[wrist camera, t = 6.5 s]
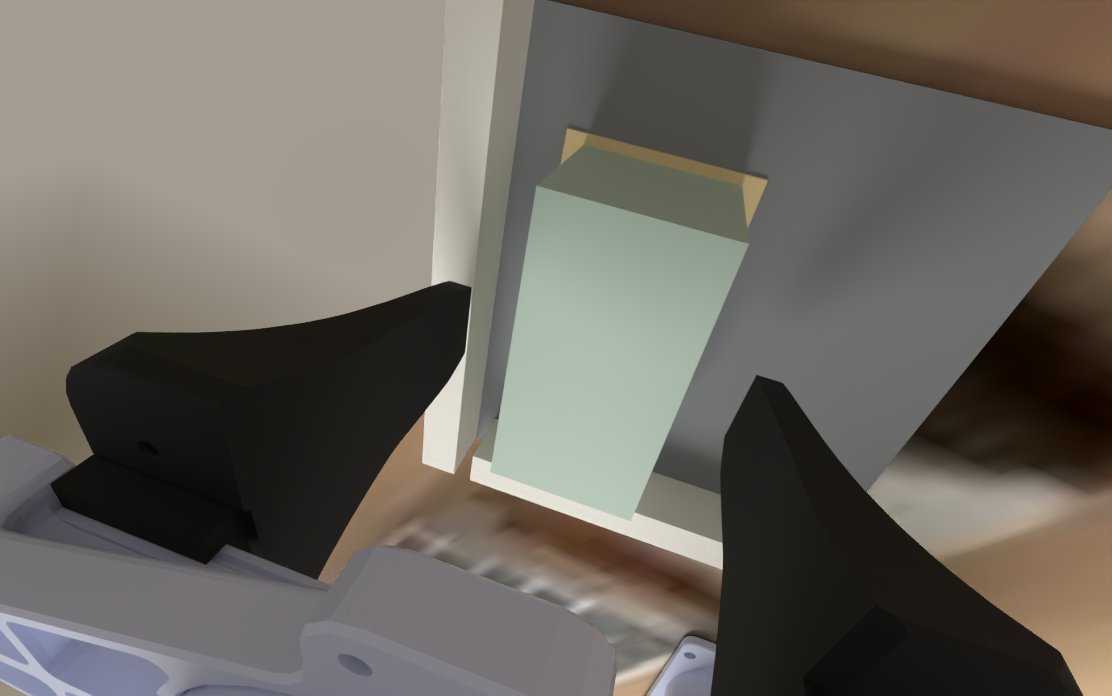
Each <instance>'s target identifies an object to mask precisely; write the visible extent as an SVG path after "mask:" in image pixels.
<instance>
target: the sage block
mask: <svg viewBox="0 0 1112 696" xmlns="http://www.w3.org/2000/svg"><path fill="white" fill-rule="evenodd" d="M748 245H749V239H748V231H747V222H746V214H745V205H744V196H743V188H742V186H740V185H736V184H733V183H729V182H725V181H721V180H717V179H714V178H710V177H706V176H702V175H698V174H694V173H691V172H687V171H683V170H679V169H675V168H671V167H668V166H664V165H660V164H656V163H652V162H649V161H645V160H641V159H637V158H633V157H629V156H626V155H622V154H618V153H614V152H610V151H606V150H603V149H599V148H595V147H591V146H587V145H583V146H582V147H580V148H579V149H578V150H577V151H576V152H575V153H573V154H572V155H571V156H570V157H569V158H568V159H567V160H565V161H564V162H563V163H562V164H561V165H560V166H558V167H557V168H556V169H555V170H554V171H553V172H552V173H550V174H549V175H548V176H547V177H546V178H545V179H543V180H542V181H541V182H540V183H539V184H538V185H537V186H536V191H535V197H534V203H533V210H532V216H531V222H530V228H529V234H528V241H527V247H526V253H525V259H524V265H523V272H522V278H521V284H520V290H519V296H518V303H517V309H516V315H515V321H514V327H513V333H512V340H511V346H510V352H509V358H508V364H507V371H506V377H505V383H504V389H503V395H502V402H501V408H500V414H499V420H498V426H497V433H496V439H495V445H494V451H493V457H492V464H491V470H490V472H491V473H494V474H497V475H500V476H503V477H506V478H509V479H511V480H514V481H517V482H520V483H523V484H526V485H529V486H531V487H534V488H537V489H540V490H543V491H546V492H549V493H551V494H554V495H557V496H560V497H563V498H566V499H568V500H571V501H574V502H577V503H580V504H583V505H586V506H588V507H591V508H594V509H597V510H600V511H603V512H606V513H608V514H611V515H614V516H617V517H620V518H623V519H626V520H628V521H631V519H632V517H633V515H634V512H635V510H636V508H637V505H638V503H639V501H640V498H641V496H642V494H643V491H644V489H645V487H646V484H647V482H648V480H649V477H650V475H651V472H652V470H653V468H654V465H655V463H656V461H657V458H658V456H659V454H660V451H661V449H662V447H663V444H664V442H665V440H666V437H667V435H668V433H669V430H670V428H671V426H672V423H673V421H674V419H675V416H676V414H677V412H678V409H679V407H680V405H681V402H682V400H683V398H684V395H685V393H686V391H687V388H688V386H689V384H690V381H691V379H692V376H693V374H694V372H695V369H696V367H697V365H698V362H699V360H700V358H701V355H702V353H703V351H704V348H705V346H706V344H707V341H708V339H709V337H710V334H711V332H712V330H713V327H714V325H715V323H716V320H717V318H718V316H719V313H720V311H721V309H722V306H723V304H724V302H725V299H726V297H727V295H728V292H729V290H730V288H731V285H732V283H733V280H734V278H735V276H736V273H737V271H738V269H739V266H740V264H741V262H742V259H743V257H744V255H745V252H746V250H747V248H748Z"/></svg>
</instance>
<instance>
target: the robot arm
mask: <svg viewBox="0 0 1112 696" xmlns="http://www.w3.org/2000/svg"><path fill="white" fill-rule="evenodd" d="M471 290H472V287H469V286H465V285H462V284H459V283H456V282H452V281H446V282H442V283H439V284H436V285H433V286H430V287H427V288H424V289H422V290H419V291H416V292H413V293H410V294H407V295H404V296H402V297H399V298H396V299H393V300H390V301H387V302H384V303H381V304H377V305H374V306H371V307H368V308H364V309H361V310H357V311H354V312H351V313H347V314H343V315H339V316H335V317H330V318H326V319H321V320H316V321H311V322H305V323H300V324H293V325H285V326H277V327H270V328H262V329H253V330H241V331H224V332H200V333H164V332H161V333H160V332H159V333H155V332H136V333H134V334H131V335H130V336H128V337H126V338H124V339H122V340H120V341H119V342H117V343H115V344H113V345H111V346H109V347H108V348H106V349H104V350H102V351H100V352H98V353H96V354H94V355H93V356H91V357H89V358H87V359H85V360H83V361H81V362H80V363H78V364H76V365H74V366H72V367H71V369H70V371H69V373H68V375H67V377H66V393H67V396H68V399H69V402H70V405H71V407H72V409H73V411H74V414H75V415H76V418H77V420H78V422H79V424H80V426H81V428H82V430H83V432H84V435H85V436H86V439H87V441H88V443H89V445H90V447H91V449H92V451H93V453H94V455H92V456H90V457H89V458H88V459H86V460H85V461H84V462H82V463H80V464H79V465H77V466H76V465H75V464H74V463H73V462H72V461H70V460H69V459H68V458H67V457H65V456H64V455H62V454H60V453H58V452H56V451H53V450H50V449H48V448H45V447H43V446H40V445H38V444H35V443H32V442H30V441H27V440H25V439H22V438H20V437H17V436H10V435H7V436H6V437H4V438H2V439H0V681H2V682H4V683H6V684H8V685H9V686H11V687H13V688H15V689H17V690H19V691H21V692H23V693H25V694H26V695H28V696H613V690H614V684H615V678H616V651H615V650H614V649H613V647H612V646H611V644H610V643H609V642H608V641H607V640H606V638H605V637H604V636H603V635H602V634H601V633H600V631H599V630H598V629H597V628H596V627H595V626H594V624H593V623H591V622H589V621H587V620H586V619H584V618H582V617H580V616H578V615H577V614H575V613H573V612H571V611H569V610H568V609H566V608H564V607H562V606H559V605H556V604H554V603H551V602H549V601H546V600H543V599H541V598H538V597H535V596H533V595H530V594H527V593H525V592H522V591H519V590H517V589H514V588H512V587H509V586H506V585H504V584H501V583H498V582H496V581H493V580H490V579H488V578H485V577H482V576H480V575H477V574H475V573H472V572H469V571H467V570H464V569H461V568H459V567H456V566H453V565H451V564H448V563H445V562H443V561H440V560H438V559H435V558H432V557H430V556H427V555H424V554H422V553H419V552H416V551H413V550H408V549H404V548H399V547H394V546H389V545H379V546H375V547H371V548H368V549H364V550H360V551H357V552H355V553H354V554H353V556H352V557H351V559H350V560H349V562H348V563H347V564H346V566H345V567H344V569H343V570H342V572H341V573H340V574H339V576H338V577H337V579H336V580H335V582H334V583H333V585H332V586H331V585H328V584H326V583H323V582H321V581H318V580H317V579H318V577H319V575H320V573H321V571H322V570H323V568H324V566H325V564H326V562H327V560H328V558H329V557H330V555H331V553H332V551H333V549H334V548H335V546H336V544H337V542H338V541H339V539H340V537H341V535H342V534H343V532H344V530H345V528H346V527H347V525H348V523H349V521H350V520H351V518H352V516H353V515H354V513H355V511H356V510H357V508H358V506H359V505H360V503H361V501H362V500H363V498H364V496H365V495H366V493H367V491H368V490H369V488H370V486H371V485H372V483H373V482H374V480H375V478H376V477H377V475H378V474H379V472H380V471H381V469H382V467H383V466H384V464H385V463H386V461H387V460H388V458H389V456H390V455H391V454H392V452H393V451H394V449H395V448H396V447H397V445H398V444H399V443H400V441H401V440H402V439H403V438H404V436H405V435H406V434H407V433H408V431H409V430H410V429H411V428H412V426H413V425H414V424H415V423H416V422H417V420H418V419H419V418H420V417H421V415H422V414H423V413H424V412H425V410H426V409H427V408H428V407H429V406H430V404H431V403H432V402H433V401H434V399H435V398H436V397H437V395H438V394H439V393H440V392H441V390H442V389H443V388H444V387H445V385H446V384H447V383H448V381H449V380H450V378H451V376H452V375H453V373H454V371H455V370H456V368H457V366H458V365H459V363H460V361H461V359H462V357H463V356H464V354H465V349H466V339H467V329H468V320H469V310H470V300H471ZM720 486H721V517H722V545H723V575H722V588H721V600H720V613H719V623H718V633H717V643H716V644H715V643H712V642H709V641H707V640H704V639H701V638H699V637H695V636H687V637H685V638H684V639H683V640H682V642H681V643H680V645H679V646H678V648H677V649H676V651H675V652H674V654H673V655H672V657H671V658H670V660H669V661H668V663H667V664H666V666H665V667H664V669H663V670H662V672H661V673H660V675H659V676H658V678H657V679H656V681H655V682H654V684H653V685H652V687H651V688H650V690H649V691H648V693H647V694H646V696H1083V694H1082V692H1081V690H1080V688H1079V687H1078V685H1077V683H1076V681H1075V679H1074V677H1073V675H1072V673H1071V672H1070V670H1069V668H1068V666H1067V664H1066V662H1065V660H1064V658H1063V656H1062V655H1061V653H1060V652H1059V651H1058V650H1057V649H1055V648H1054V647H1052V646H1051V645H1049V644H1048V643H1047V642H1045V641H1044V640H1042V639H1041V638H1040V637H1038V636H1037V635H1035V634H1034V633H1032V632H1031V631H1030V630H1028V629H1027V628H1025V627H1024V626H1023V625H1021V624H1020V623H1018V622H1017V621H1015V620H1014V619H1013V618H1011V617H1010V616H1008V615H1007V614H1006V613H1004V612H1003V611H1001V610H1000V609H998V608H997V607H996V606H994V605H993V604H992V603H990V602H989V601H988V600H986V599H985V598H984V597H982V596H981V595H980V594H979V593H977V592H976V591H975V590H974V589H972V588H971V587H970V586H968V585H967V584H966V583H965V582H963V581H962V580H961V579H960V578H958V577H957V576H956V575H955V574H953V573H952V572H951V571H950V570H949V569H947V568H946V567H945V566H944V565H943V564H941V563H940V562H939V561H938V560H937V559H935V558H934V557H933V556H932V555H931V554H930V553H928V552H927V551H926V550H925V549H924V548H923V547H922V546H921V545H920V544H919V543H917V542H916V541H915V540H914V539H913V538H912V537H911V536H910V535H909V534H907V533H906V532H905V531H904V530H903V529H902V528H901V527H900V526H899V525H898V524H897V523H896V522H895V521H894V520H893V519H892V518H891V517H890V516H889V515H888V514H887V513H886V512H885V511H884V510H883V509H882V508H881V507H880V506H879V505H878V504H877V503H876V502H875V501H874V500H873V499H872V498H871V497H870V495H869V494H868V493H867V492H866V491H865V490H864V489H863V488H862V487H861V486H860V484H859V483H858V482H857V481H856V480H855V479H854V478H853V476H852V475H851V474H850V473H849V471H848V470H847V469H846V468H845V467H844V465H843V464H842V463H841V462H840V460H839V459H838V458H837V457H836V455H835V454H834V453H833V452H832V450H831V449H830V448H829V446H828V445H827V444H826V442H825V441H824V440H823V438H822V437H821V436H820V434H819V433H818V431H817V430H816V429H815V427H814V426H813V424H812V423H811V422H810V420H809V419H808V417H807V416H806V414H805V413H804V411H803V410H802V409H801V407H800V406H799V404H798V403H797V401H796V400H795V399H794V397H793V396H792V394H791V393H790V391H789V390H788V389H787V387H786V386H785V385H784V384H783V383H782V382H779V381H775V380H772V379H769V378H766V377H762V376H759V375H756V377H755V379H754V381H753V383H752V384H751V386H750V388H749V390H748V392H747V394H746V396H745V398H744V400H743V402H742V404H741V406H740V408H739V410H738V411H737V413H736V415H735V417H734V419H733V421H732V423H731V425H730V427H729V429H728V431H727V433H726V435H725V436H724V444H723V452H722V460H721V470H720Z"/></svg>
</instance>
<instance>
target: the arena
mask: <svg viewBox="0 0 1112 696" xmlns="http://www.w3.org/2000/svg"><path fill="white" fill-rule="evenodd" d="M440 109H441V110H440V128H439V147H438V168H437V186H436V205H435V225H434V226H435V227H434V245H433V264H432V285H431V286H433V285H436V284H439V283H442V282H446V281H452V282H456V283H459V284H462V285H465V286H469V287H472V290H471V300H470V310H469V320H468V329H467V339H466V349H465V354H464V356H463V357H462V359H461V361H460V363H459V365H458V366H457V368H456V370H455V371H454V373H453V375H452V376H451V378H450V380H449V381H448V383H447V384H446V385H445V387H444V388H443V389H442V390H441V392H440V393H439V394H438V395H437V397H436V398H435V399H434V401H433V402H432V403H431V404H430V406H429V407H428V408H427V409H426V410H425V421H424V441H423V460H422V463H424V464H427V465H429V466H432V467H435V468H438V469H441V470H443V471H446V472H449V473H452V474H454V473H455V472H456V470H457V468H458V467H459V465H460V463H461V462H462V460H463V458H464V457H465V455H466V453H467V452H468V450H469V448H470V447H471V445H472V443H473V442H474V440H475V438H476V437H479V438H482V439H483V440H482V442H481V443H480V445H479V447H478V449H477V450H476V452H475V454H474V455H473V461H472V468H471V476H470V480H472V481H474V482H477V483H480V484H483V485H486V486H489V487H491V488H494V489H497V490H500V491H503V492H505V493H508V494H511V495H514V496H517V497H520V498H522V499H525V500H528V501H531V502H534V503H536V504H539V505H542V506H545V507H548V508H550V509H553V510H556V511H559V512H562V513H565V514H567V515H570V516H573V517H576V518H579V519H581V520H584V521H587V522H590V523H593V524H596V525H598V526H601V527H604V528H607V529H610V530H612V531H615V532H618V533H621V534H624V535H627V536H629V537H632V538H635V539H638V540H641V541H643V542H646V543H649V544H652V545H655V546H657V547H660V548H663V549H666V550H669V551H672V552H674V553H677V554H680V555H683V556H686V557H688V558H691V559H694V560H697V561H700V562H703V563H705V564H708V565H711V566H714V567H717V568H719V569H722V570H723V545H722V517H721V486H720V470H721V460H722V452H723V444H724V436H725V435H726V433H727V431H728V429H729V427H730V425H731V423H732V421H733V419H734V417H735V415H736V413H737V411H738V410H739V408H740V406H741V404H742V402H743V400H744V398H745V396H746V394H747V392H748V390H749V388H750V386H751V384H752V383H753V381H754V379H755V377H756V375H759V376H762V377H766V378H769V379H772V380H775V381H779V382H782V383H783V384H784V385H785V386H786V387H787V389H788V390H789V391H790V393H791V394H792V396H793V397H794V399H795V400H796V401H797V403H798V404H799V406H800V407H801V409H802V410H803V411H804V413H805V414H806V416H807V417H808V419H809V420H810V422H811V423H812V424H813V426H814V427H815V429H816V430H817V431H818V433H819V434H820V436H821V437H822V438H823V440H824V441H825V442H826V444H827V445H828V446H829V448H830V449H831V450H832V452H833V453H834V454H835V455H836V457H837V458H838V459H839V460H840V462H841V463H842V464H843V465H844V467H845V468H846V469H847V470H848V471H849V473H850V474H851V475H852V476H853V478H854V479H855V480H856V481H857V482H858V483H859V484H860V486H861V487H862V488H863V489H864V490H865V491H866V492H867V490H868V489H869V488H870V487H871V486H872V484H873V483H874V482H875V481H876V479H877V478H878V477H879V476H880V474H881V473H882V472H883V471H884V469H885V468H886V467H887V466H888V465H889V463H890V462H891V461H892V460H893V458H894V457H895V456H896V455H897V453H898V452H899V451H900V450H901V448H902V447H903V446H904V445H905V443H906V442H907V441H908V440H909V439H910V437H911V436H912V435H913V434H914V432H915V431H916V430H917V429H918V427H919V426H920V425H921V424H922V422H923V421H924V420H925V419H926V418H927V416H928V415H929V414H930V413H931V411H932V410H933V409H934V408H935V406H936V405H937V404H938V403H939V401H940V400H941V399H942V398H943V397H944V395H945V394H946V393H947V392H948V390H949V389H950V388H951V387H952V385H953V384H954V383H955V382H956V380H957V379H958V378H959V377H960V376H961V374H962V373H963V372H964V371H965V369H966V368H967V367H968V366H969V364H970V363H971V362H972V361H973V359H974V358H975V357H976V356H977V355H978V353H979V352H980V351H981V350H982V348H983V347H984V346H985V345H986V343H987V342H988V341H989V340H990V338H991V337H992V336H993V335H994V334H995V332H996V331H997V330H998V329H999V327H1000V326H1001V325H1002V324H1003V322H1004V321H1005V320H1006V319H1007V317H1008V316H1009V315H1010V314H1011V312H1012V311H1013V310H1014V309H1015V308H1016V306H1017V305H1018V304H1019V303H1020V301H1021V300H1022V299H1023V298H1024V296H1025V295H1026V294H1027V293H1028V291H1029V290H1030V289H1031V288H1032V287H1033V285H1034V284H1035V283H1036V282H1037V280H1038V279H1039V278H1040V277H1041V275H1042V274H1043V273H1044V272H1045V270H1046V269H1047V268H1048V267H1049V266H1050V264H1051V263H1052V262H1053V261H1054V259H1055V258H1056V257H1057V256H1058V254H1059V253H1060V252H1061V251H1062V249H1063V248H1064V247H1065V246H1066V245H1067V243H1068V242H1069V241H1070V240H1071V238H1072V237H1073V236H1074V235H1075V233H1076V232H1077V231H1078V230H1079V228H1080V227H1081V226H1082V225H1083V224H1084V222H1085V221H1086V220H1087V219H1088V217H1089V216H1090V215H1091V214H1092V212H1093V211H1094V210H1095V209H1096V207H1097V206H1098V205H1099V204H1100V203H1101V201H1102V200H1103V199H1104V198H1105V196H1106V195H1107V194H1108V193H1109V191H1110V190H1111V189H1112V129H1108V128H1103V127H1099V126H1095V125H1090V124H1086V123H1082V122H1077V121H1073V120H1069V119H1064V118H1060V117H1056V116H1051V115H1047V114H1042V113H1038V112H1034V111H1029V110H1025V109H1021V108H1016V107H1012V106H1008V105H1003V104H999V103H995V102H990V101H986V100H982V99H977V98H973V97H968V96H964V95H960V94H955V93H951V92H947V91H942V90H938V89H934V88H929V87H925V86H921V85H916V84H912V83H907V82H903V81H899V80H894V79H890V78H886V77H881V76H877V75H873V74H868V73H864V72H860V71H855V70H851V69H847V68H842V67H838V66H833V65H829V64H825V63H820V62H816V61H812V60H807V59H803V58H799V57H794V56H790V55H786V54H781V53H777V52H773V51H768V50H764V49H759V48H755V47H751V46H746V45H742V44H738V43H733V42H729V41H725V40H720V39H716V38H712V37H707V36H703V35H699V34H694V33H690V32H685V31H681V30H677V29H672V28H668V27H664V26H659V25H655V24H651V23H646V22H642V21H638V20H633V19H629V18H625V17H620V16H616V15H611V14H607V13H603V12H598V11H594V10H590V9H585V8H581V7H577V6H572V5H568V4H564V3H559V2H555V1H550V0H446V10H445V29H444V49H443V69H442V88H441V108H440ZM583 145H587V146H591V147H595V148H599V149H603V150H606V151H610V152H614V153H618V154H622V155H626V156H629V157H633V158H637V159H641V160H645V161H649V162H652V163H656V164H660V165H664V166H668V167H671V168H675V169H679V170H683V171H687V172H691V173H694V174H698V175H702V176H706V177H710V178H714V179H717V180H721V181H725V182H729V183H733V184H736V185H740V186H742V188H743V196H744V205H745V214H746V222H747V231H748V239H749V245H748V248H747V250H746V252H745V255H744V257H743V259H742V262H741V264H740V266H739V269H738V271H737V273H736V276H735V278H734V280H733V283H732V285H731V288H730V290H729V292H728V295H727V297H726V299H725V302H724V304H723V306H722V309H721V311H720V313H719V316H718V318H717V320H716V323H715V325H714V327H713V330H712V332H711V334H710V337H709V339H708V341H707V344H706V346H705V348H704V351H703V353H702V355H701V358H700V360H699V362H698V365H697V367H696V369H695V372H694V374H693V376H692V379H691V381H690V384H689V386H688V388H687V391H686V393H685V395H684V398H683V400H682V402H681V405H680V407H679V409H678V412H677V414H676V416H675V419H674V421H673V423H672V426H671V428H670V430H669V433H668V435H667V437H666V440H665V442H664V444H663V447H662V449H661V451H660V454H659V456H658V458H657V461H656V463H655V465H654V468H653V470H652V472H651V475H650V477H649V480H648V482H647V484H646V487H645V489H644V491H643V494H642V496H641V498H640V501H639V503H638V505H637V508H636V510H635V512H634V515H633V517H632V519H631V521H628V520H626V519H623V518H620V517H617V516H614V515H611V514H608V513H606V512H603V511H600V510H597V509H594V508H591V507H588V506H586V505H583V504H580V503H577V502H574V501H571V500H568V499H566V498H563V497H560V496H557V495H554V494H551V493H549V492H546V491H543V490H540V489H537V488H534V487H531V486H529V485H526V484H523V483H520V482H517V481H514V480H511V479H509V478H506V477H503V476H500V475H497V474H494V473H491V472H490V470H491V464H492V457H493V451H494V445H495V439H496V433H497V426H498V420H499V414H500V408H501V402H502V395H503V389H504V383H505V377H506V371H507V364H508V358H509V352H510V346H511V340H512V333H513V327H514V321H515V315H516V309H517V303H518V296H519V290H520V284H521V278H522V272H523V265H524V259H525V253H526V247H527V241H528V234H529V228H530V222H531V216H532V210H533V203H534V197H535V191H536V186H537V185H538V184H539V183H540V182H541V181H542V180H543V179H545V178H546V177H547V176H548V175H549V174H550V173H552V172H553V171H554V170H555V169H556V168H557V167H558V166H560V165H561V164H562V163H563V162H564V161H565V160H567V159H568V158H569V157H570V156H571V155H572V154H573V153H575V152H576V151H577V150H578V149H579V148H580V147H582V146H583Z"/></svg>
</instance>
